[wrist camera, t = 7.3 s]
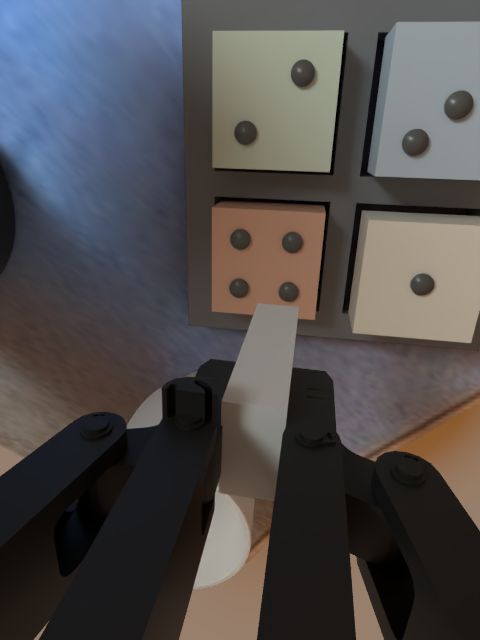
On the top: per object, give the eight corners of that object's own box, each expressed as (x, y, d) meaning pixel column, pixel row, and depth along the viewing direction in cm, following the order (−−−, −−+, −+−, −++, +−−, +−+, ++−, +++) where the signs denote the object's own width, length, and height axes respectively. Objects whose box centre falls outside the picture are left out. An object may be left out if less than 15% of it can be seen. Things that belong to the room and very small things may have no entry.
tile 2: (223, 164, 25) (211, 167, 22) (224, 43, 23) (211, 29, 20) (327, 168, 24) (330, 172, 21) (340, 43, 22) (344, 29, 19)
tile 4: (221, 294, 28) (211, 312, 25) (222, 199, 26) (211, 208, 23) (314, 301, 27) (314, 321, 24) (324, 204, 25) (325, 213, 22)
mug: (224, 326, 30) (180, 440, 19) (290, 418, 33) (284, 564, 22) (104, 395, 34) (12, 520, 23) (171, 471, 37) (115, 618, 26)
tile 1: (348, 312, 26) (353, 334, 23) (361, 210, 23) (369, 220, 21) (453, 320, 25) (472, 344, 22) (478, 216, 23) (503, 227, 20)
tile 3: (367, 171, 23) (375, 176, 20) (385, 37, 20) (397, 20, 17) (488, 176, 22) (515, 182, 19) (521, 37, 20) (558, 19, 17)
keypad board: (196, 314, 30) (188, 325, 28) (191, 3, 23) (181, -9, 21) (467, 336, 28) (478, 350, 26) (555, -1, 21) (578, -14, 19)
